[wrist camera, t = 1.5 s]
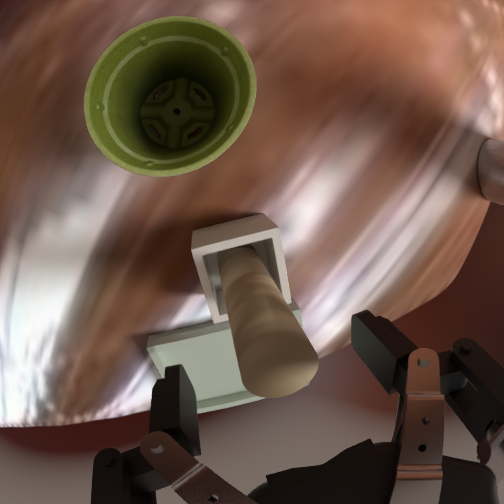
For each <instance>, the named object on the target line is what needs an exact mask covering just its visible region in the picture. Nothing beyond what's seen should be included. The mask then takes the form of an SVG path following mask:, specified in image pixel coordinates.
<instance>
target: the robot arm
mask: <svg viewBox="0 0 504 504" xmlns="http://www.w3.org/2000/svg"><path fill="white" fill-rule="evenodd" d="M478 179H479V185H480V188H481V191H482V193H483V195H484V197H485V198H486V199H487V200H489V201H492V202H496V203H499V204H502V205H504V140H495V139H488V140H486V141H485V142H484V143H483V145H482V147H481V150H480V154H479V160H478ZM351 341H352V345H353V348H354V350H355V351H356V353H357V354H358V355H359V357H360V358H361V359H362V360H363V361H364V363H365V364H366V365H367V367H368V368H369V369H370V371H371V372H372V373H373V375H374V376H375V377H376V378H377V380H378V381H379V382H380V384H381V385H382V386H383V388H384V389H385V390H386V391H387V393H388V394H389V395H391V394H393V393H394V392H396V391H397V392H398V393H399V394H400V396H399V401H398V409H397V416H396V422H395V428H394V433H393V437H392V440H391V442H380V443H374V444H373V443H372V441H371V439H367V440H365V441H363V442H361V443H359V444H356V445H354V446H352V447H349V448H347V449H345V450H344V451H342V452H341V453H339V454H338V455H337V456H335V457H334V458H332V459H331V460H329V461H327V462H326V463H324V464H322V465H317V466H308V467H299V468H291V469H288V470H285V471H281V472H277V473H274V474H270V475H266V478H267V482H265V483H263V484H261V485H260V486H258V487H257V488H255V489H254V490H253V491H251V493H250V494H248V495H247V496H246V495H245V494H243V493H242V492H240V491H239V490H237V489H236V488H234V487H233V486H232V485H230V484H229V483H228V482H226V481H225V480H224V479H222V478H221V477H220V476H218V475H217V474H216V473H214V472H213V471H212V470H211V469H209V468H208V467H207V466H205V465H204V464H201V463H200V462H198V461H197V460H196V459H195V458H194V456H198V455H201V448H200V439H199V427H198V415H197V401H196V394H195V390H194V387H193V385H192V383H191V381H190V379H189V377H188V375H187V373H186V371H185V369H184V367H183V365H182V364H177V365H172V366H167V367H165V374H164V378H163V379H158V380H157V381H156V383H155V385H154V387H153V388H152V399H151V409H150V422H149V434H147V435H146V436H145V437H144V438H143V439H142V441H141V443H140V446H138V447H137V448H134V449H131V450H129V451H126V452H123V453H120V452H119V451H118V450H117V449H114V448H106V449H103V450H101V451H100V452H99V453H98V454H97V455H96V456H95V459H94V465H93V476H92V491H91V504H157V503H156V490H158V489H161V488H164V487H167V486H169V485H170V486H171V487H172V489H173V490H174V491H175V492H176V493H177V494H178V495H179V496H180V497H181V498H182V499H183V500H184V501H186V502H187V503H188V504H499V499H498V487H497V483H499V482H500V480H502V479H503V478H504V368H503V367H502V366H500V364H499V363H498V362H497V361H496V360H494V359H493V358H492V357H491V356H490V355H489V354H488V353H487V352H486V351H485V350H484V349H483V348H482V347H481V346H479V345H478V344H477V343H476V342H475V341H474V340H472V339H469V338H461V339H458V340H456V341H455V342H454V344H453V346H452V350H448V351H445V352H441V353H435V352H434V351H432V350H430V349H426V348H420V349H419V348H418V347H417V346H416V345H415V344H413V342H412V341H411V340H410V339H408V338H407V337H406V336H405V335H404V334H403V333H402V332H400V330H399V329H398V328H397V327H395V325H394V324H392V323H391V322H390V321H389V320H388V319H386V318H383V317H381V316H377V317H375V316H374V315H373V314H372V313H371V312H370V311H369V310H364V311H362V312H359V313H356V314H354V315H352V319H351ZM467 380H469V381H470V382H471V383H472V384H473V385H474V387H475V388H476V389H477V390H478V392H477V391H476V390H475V388H474V387H473V386H472V385H471V384H470V383H469V382H468V381H467ZM445 401H446V402H447V403H448V404H449V406H450V407H451V408H452V409H453V411H454V412H455V413H456V415H457V416H458V417H459V418H460V420H461V421H462V422H463V424H464V425H465V426H466V428H467V429H468V430H469V432H470V433H471V434H472V436H473V437H474V438H475V440H476V441H477V443H478V444H477V454H478V455H477V459H478V460H479V461H480V463H479V462H473V461H468V460H463V459H458V458H453V457H449V456H444V455H442V454H443V441H444V420H445V419H444V418H445Z"/></svg>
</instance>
